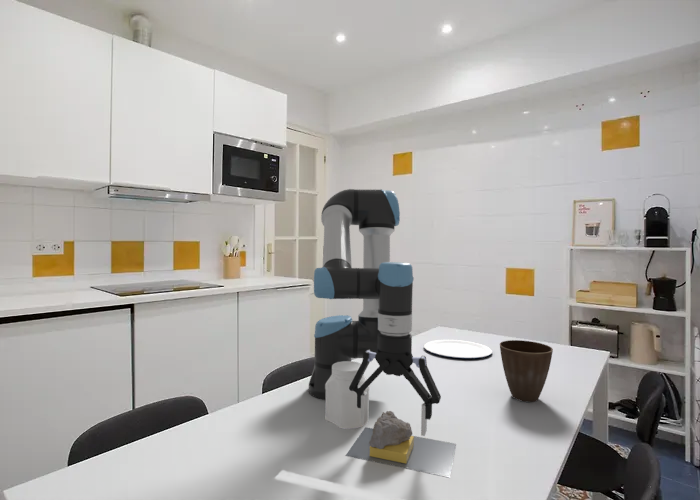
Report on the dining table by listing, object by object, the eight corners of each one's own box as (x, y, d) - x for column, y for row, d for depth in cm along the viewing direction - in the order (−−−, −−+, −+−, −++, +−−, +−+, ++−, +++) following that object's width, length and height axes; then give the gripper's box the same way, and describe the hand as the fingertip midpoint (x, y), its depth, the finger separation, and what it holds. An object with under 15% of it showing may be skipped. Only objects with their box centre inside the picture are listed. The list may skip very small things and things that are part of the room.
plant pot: (542, 412, 111) (543, 356, 111) (490, 397, 121) (491, 346, 121) (557, 397, 122) (559, 346, 122) (509, 385, 132) (510, 337, 132)
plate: (502, 362, 159) (502, 357, 159) (430, 360, 159) (430, 356, 159) (479, 343, 188) (480, 339, 188) (418, 342, 189) (418, 338, 188)
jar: (375, 425, 102) (376, 367, 102) (348, 437, 96) (348, 375, 95) (345, 410, 110) (346, 357, 110) (318, 420, 104) (319, 364, 104)
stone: (394, 458, 80) (394, 429, 80) (361, 445, 85) (362, 418, 85) (416, 439, 88) (416, 413, 88) (385, 428, 93) (385, 404, 93)
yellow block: (379, 439, 92) (369, 456, 85) (379, 430, 92) (369, 446, 85) (413, 445, 89) (406, 464, 82) (413, 436, 89) (406, 454, 82)
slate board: (345, 461, 85) (345, 455, 85) (365, 431, 98) (365, 427, 98) (449, 483, 77) (450, 477, 77) (456, 448, 91) (456, 443, 91)
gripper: (335, 330, 88) (334, 425, 88) (450, 341, 79) (448, 446, 80) (347, 324, 95) (346, 411, 95) (454, 333, 86) (452, 429, 87)
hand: (393, 427), depth 87 cm, fingers open, 13 cm apart
